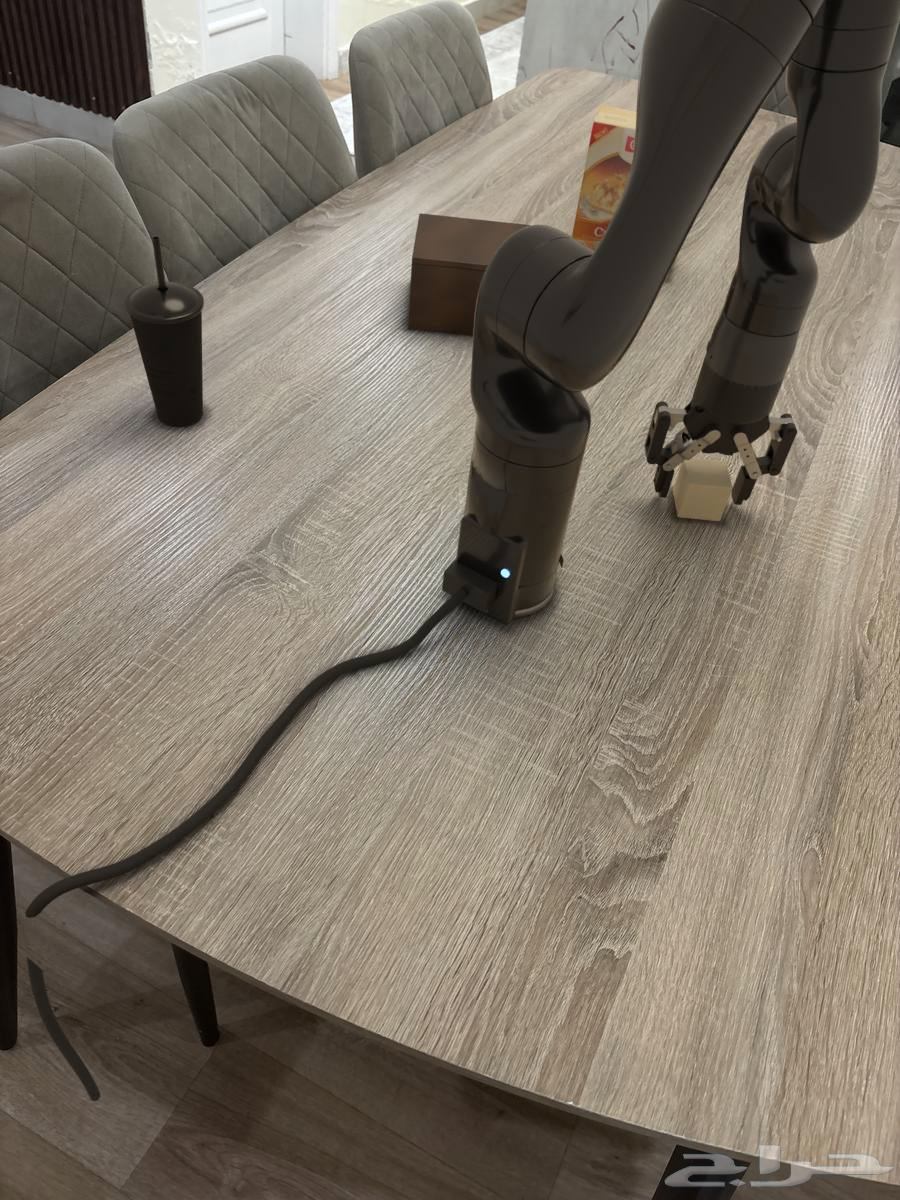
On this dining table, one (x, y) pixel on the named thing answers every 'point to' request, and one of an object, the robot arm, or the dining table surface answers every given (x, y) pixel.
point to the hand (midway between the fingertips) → (698, 496)
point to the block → (702, 489)
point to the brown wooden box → (451, 270)
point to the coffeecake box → (604, 172)
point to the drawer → (595, 244)
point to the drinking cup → (170, 344)
